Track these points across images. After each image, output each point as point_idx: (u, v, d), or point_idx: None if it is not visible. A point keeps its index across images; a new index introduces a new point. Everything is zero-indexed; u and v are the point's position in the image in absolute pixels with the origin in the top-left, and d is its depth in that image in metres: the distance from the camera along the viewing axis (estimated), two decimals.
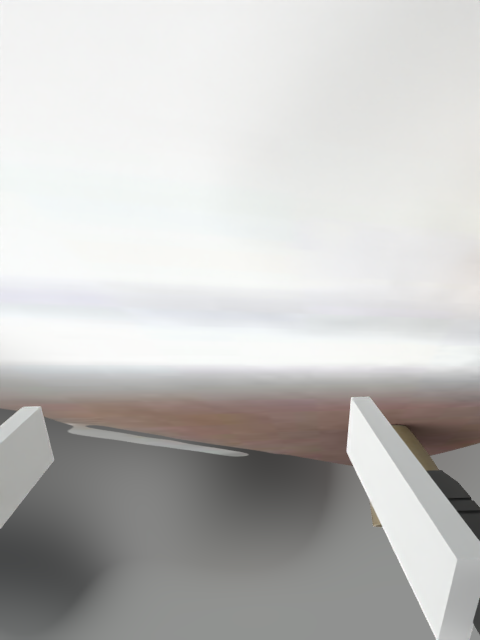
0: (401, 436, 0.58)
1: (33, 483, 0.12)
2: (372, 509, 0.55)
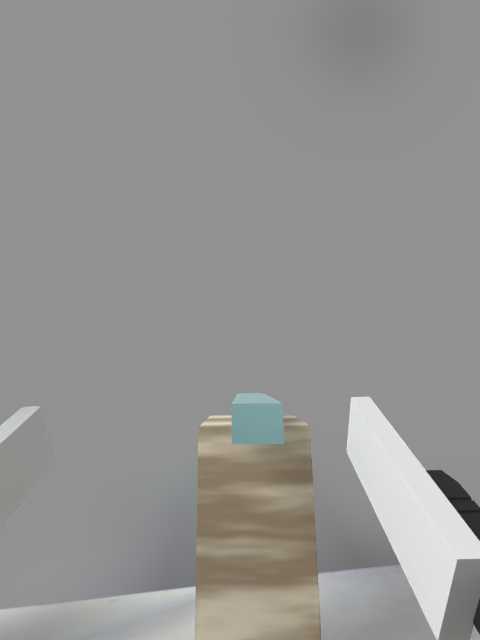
0: None
1: (33, 483, 0.12)
2: None
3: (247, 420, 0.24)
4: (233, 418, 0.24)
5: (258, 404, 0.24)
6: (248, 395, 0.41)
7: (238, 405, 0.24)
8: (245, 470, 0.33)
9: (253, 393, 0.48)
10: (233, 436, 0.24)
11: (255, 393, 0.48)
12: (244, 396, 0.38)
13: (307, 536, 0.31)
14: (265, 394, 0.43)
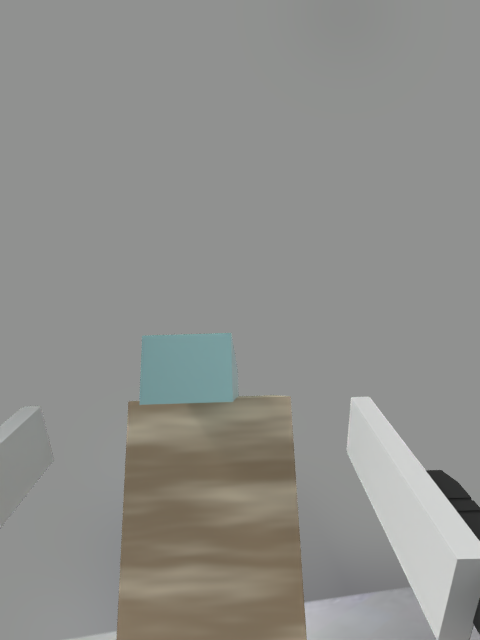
0: None
1: (33, 483, 0.12)
2: None
3: (169, 362, 0.14)
4: (144, 360, 0.14)
5: (189, 336, 0.14)
6: None
7: (154, 338, 0.14)
8: (195, 464, 0.22)
9: None
10: (143, 390, 0.13)
11: None
12: None
13: (288, 561, 0.21)
14: None
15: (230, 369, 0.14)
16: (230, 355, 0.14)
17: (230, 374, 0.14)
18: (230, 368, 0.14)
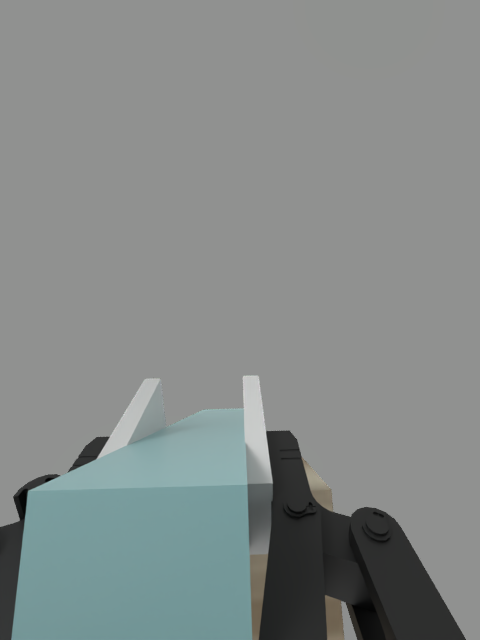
0: None
1: None
2: None
3: (91, 568, 0.05)
4: (28, 560, 0.05)
5: (144, 490, 0.06)
6: (209, 416, 0.22)
7: (57, 497, 0.06)
8: None
9: (227, 409, 0.30)
10: None
11: (230, 409, 0.29)
12: (195, 420, 0.19)
13: None
14: (243, 412, 0.25)
15: (246, 589, 0.05)
16: (246, 548, 0.05)
17: (246, 603, 0.05)
18: (246, 586, 0.05)
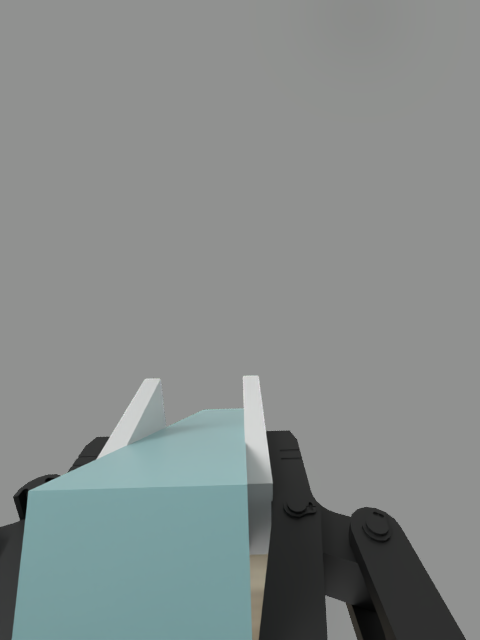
0: None
1: None
2: None
3: (92, 567, 0.05)
4: (28, 559, 0.05)
5: (144, 490, 0.06)
6: (209, 416, 0.22)
7: (57, 497, 0.06)
8: None
9: (227, 409, 0.30)
10: None
11: (230, 409, 0.29)
12: (195, 420, 0.19)
13: None
14: (243, 412, 0.25)
15: (246, 588, 0.05)
16: (246, 548, 0.05)
17: (246, 603, 0.05)
18: (246, 586, 0.05)
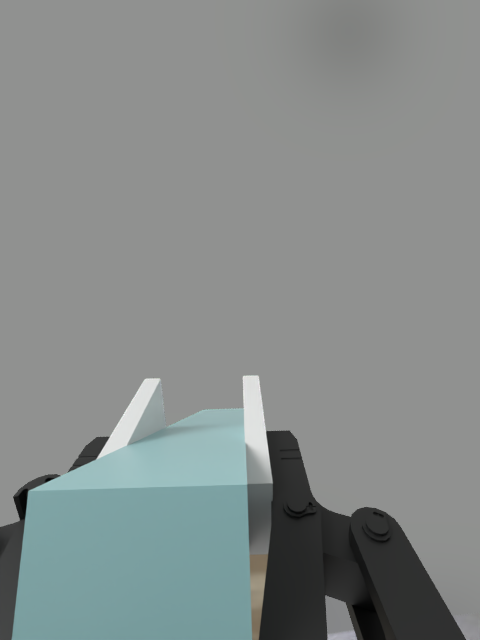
0: None
1: None
2: None
3: (91, 567, 0.05)
4: (28, 560, 0.05)
5: (144, 490, 0.06)
6: (209, 416, 0.22)
7: (57, 497, 0.06)
8: None
9: (227, 409, 0.30)
10: None
11: (230, 409, 0.29)
12: (195, 420, 0.19)
13: None
14: (243, 412, 0.25)
15: (246, 588, 0.05)
16: (246, 548, 0.05)
17: (246, 603, 0.05)
18: (246, 586, 0.05)
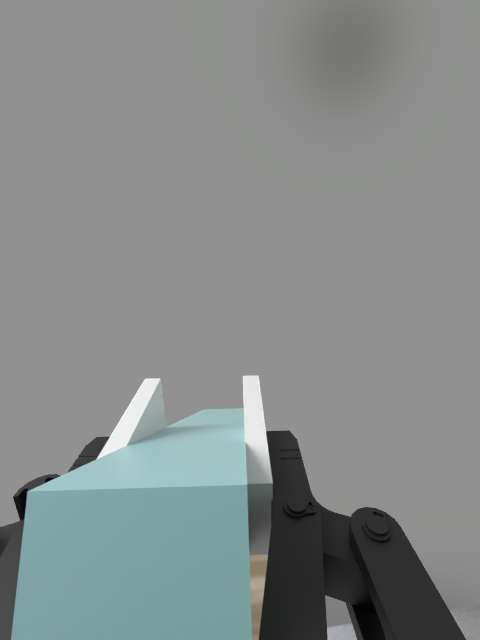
0: None
1: None
2: None
3: (91, 568, 0.05)
4: (27, 560, 0.05)
5: (144, 491, 0.06)
6: (209, 416, 0.22)
7: (56, 498, 0.06)
8: None
9: (227, 409, 0.30)
10: None
11: (230, 409, 0.29)
12: (195, 420, 0.19)
13: None
14: (243, 412, 0.25)
15: (246, 589, 0.05)
16: (246, 548, 0.05)
17: (246, 603, 0.05)
18: (246, 587, 0.05)
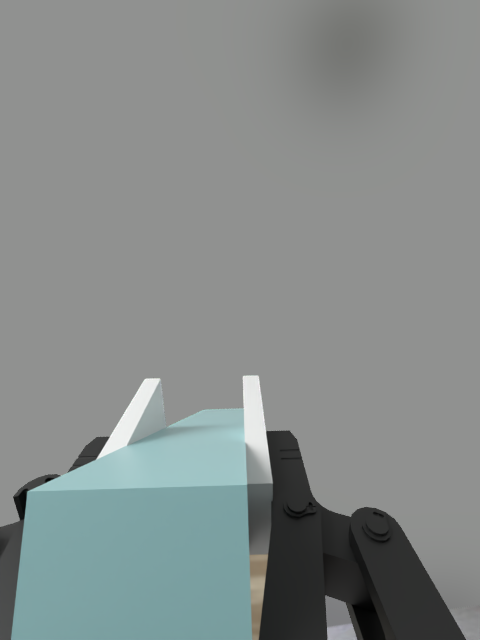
0: None
1: None
2: None
3: (91, 568, 0.05)
4: (27, 560, 0.05)
5: (144, 491, 0.06)
6: (209, 416, 0.22)
7: (56, 498, 0.06)
8: None
9: (227, 409, 0.30)
10: None
11: (230, 409, 0.29)
12: (195, 420, 0.19)
13: None
14: (243, 412, 0.25)
15: (246, 589, 0.05)
16: (246, 548, 0.05)
17: (246, 603, 0.05)
18: (246, 587, 0.05)
